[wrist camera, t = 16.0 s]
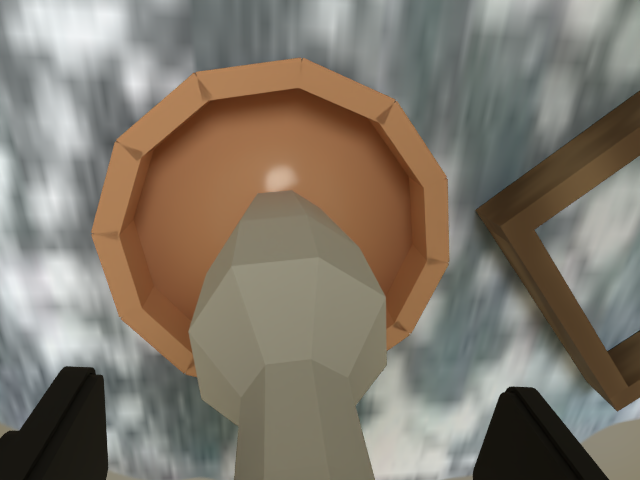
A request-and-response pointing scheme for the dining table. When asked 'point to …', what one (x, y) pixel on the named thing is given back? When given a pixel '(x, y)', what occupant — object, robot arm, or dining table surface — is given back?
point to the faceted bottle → (290, 342)
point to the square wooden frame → (536, 264)
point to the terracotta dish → (266, 190)
